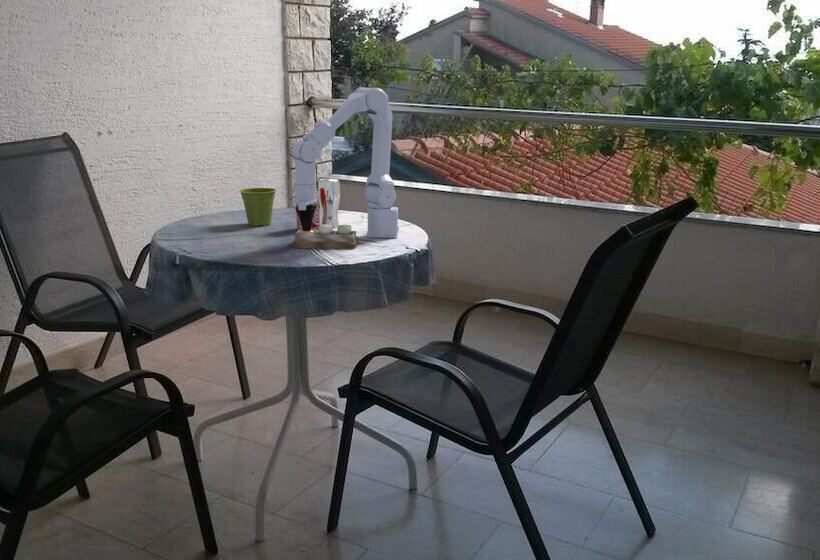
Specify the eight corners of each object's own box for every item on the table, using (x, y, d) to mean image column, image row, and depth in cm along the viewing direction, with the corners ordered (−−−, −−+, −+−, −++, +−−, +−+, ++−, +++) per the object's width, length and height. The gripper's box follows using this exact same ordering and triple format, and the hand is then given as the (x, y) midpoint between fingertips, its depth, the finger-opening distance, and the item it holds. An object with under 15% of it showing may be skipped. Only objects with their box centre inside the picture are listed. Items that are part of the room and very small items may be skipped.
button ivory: (333, 232, 224) (333, 224, 224) (331, 235, 221) (331, 227, 220) (319, 232, 225) (319, 224, 224) (317, 235, 221) (317, 227, 220)
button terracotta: (315, 237, 225) (314, 229, 224) (312, 240, 221) (312, 232, 221) (301, 236, 225) (301, 229, 225) (299, 239, 221) (298, 231, 221)
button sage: (352, 232, 224) (351, 224, 224) (350, 235, 220) (350, 227, 220) (338, 232, 224) (338, 224, 224) (336, 235, 221) (336, 227, 220)
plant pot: (280, 221, 257) (279, 187, 254) (274, 228, 245) (272, 193, 242) (245, 220, 257) (243, 186, 254) (236, 227, 246) (235, 192, 243)
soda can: (315, 232, 240) (314, 190, 237) (293, 231, 241) (292, 189, 238) (322, 228, 247) (321, 187, 243) (301, 226, 248) (299, 186, 245)
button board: (357, 241, 228) (357, 229, 227) (354, 248, 218) (354, 236, 217) (298, 240, 229) (298, 228, 228) (292, 247, 219) (292, 235, 218)
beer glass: (316, 227, 247) (315, 180, 243) (322, 223, 253) (321, 177, 250) (337, 228, 246) (336, 181, 242) (342, 224, 252) (342, 178, 248)
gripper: (296, 179, 226) (297, 225, 230) (286, 187, 212) (288, 235, 216) (320, 180, 226) (321, 226, 229) (312, 187, 212) (313, 236, 215)
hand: (306, 230), depth 223 cm, fingers closed, pressing on button terracotta
